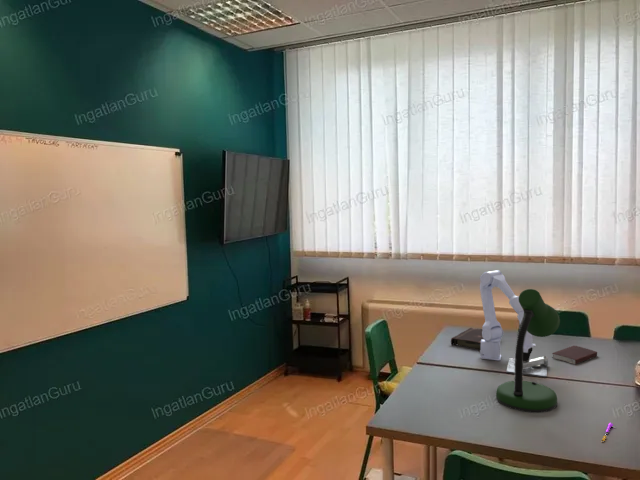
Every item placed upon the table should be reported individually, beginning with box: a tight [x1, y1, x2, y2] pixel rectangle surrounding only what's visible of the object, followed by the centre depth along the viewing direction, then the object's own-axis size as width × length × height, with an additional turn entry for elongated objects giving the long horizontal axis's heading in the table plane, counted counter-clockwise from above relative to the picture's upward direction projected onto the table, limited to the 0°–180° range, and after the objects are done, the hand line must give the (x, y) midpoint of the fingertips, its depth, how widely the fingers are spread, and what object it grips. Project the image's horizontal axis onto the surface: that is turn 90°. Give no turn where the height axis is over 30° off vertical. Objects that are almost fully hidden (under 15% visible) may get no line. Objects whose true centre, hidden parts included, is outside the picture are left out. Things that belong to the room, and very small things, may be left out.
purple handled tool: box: [601, 422, 614, 442], centre depth 178 cm, size 3×1×16 cm
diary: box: [450, 327, 484, 351], centre depth 284 cm, size 19×25×5 cm
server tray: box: [506, 357, 548, 378], centre depth 243 cm, size 17×20×2 cm
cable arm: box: [523, 355, 549, 369], centre depth 242 cm, size 17×3×3 cm, turn 117°
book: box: [551, 345, 598, 365], centre depth 256 cm, size 12×19×3 cm, turn 123°
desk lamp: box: [495, 288, 561, 414], centre depth 207 cm, size 31×23×45 cm
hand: (525, 362), depth 243 cm, fingers closed, pressing on cable arm
